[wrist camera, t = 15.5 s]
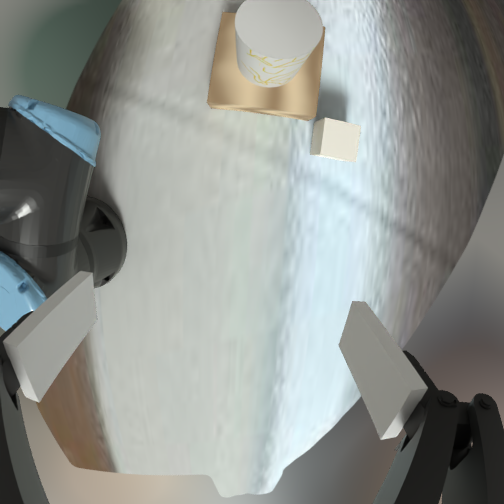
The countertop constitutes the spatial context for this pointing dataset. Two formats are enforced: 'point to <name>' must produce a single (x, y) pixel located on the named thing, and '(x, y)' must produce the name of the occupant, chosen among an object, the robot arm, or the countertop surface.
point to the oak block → (256, 97)
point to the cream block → (335, 140)
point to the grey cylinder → (275, 39)
